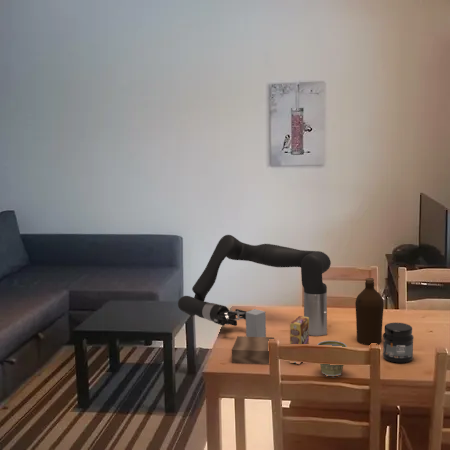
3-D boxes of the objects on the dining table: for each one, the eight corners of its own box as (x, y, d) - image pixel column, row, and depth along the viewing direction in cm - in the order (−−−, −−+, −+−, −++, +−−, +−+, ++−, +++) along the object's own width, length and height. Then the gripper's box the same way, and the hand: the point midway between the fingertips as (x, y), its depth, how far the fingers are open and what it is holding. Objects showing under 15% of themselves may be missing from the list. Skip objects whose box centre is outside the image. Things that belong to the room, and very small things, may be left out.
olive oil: (377, 347, 231) (378, 283, 227) (351, 342, 237) (351, 280, 232) (386, 338, 240) (387, 277, 235) (360, 334, 245) (361, 274, 241)
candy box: (300, 365, 216) (300, 324, 214) (289, 363, 218) (288, 322, 216) (309, 356, 224) (309, 316, 221) (298, 355, 226) (298, 315, 223)
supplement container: (396, 350, 227) (397, 320, 225) (419, 359, 218) (420, 327, 216) (376, 357, 222) (376, 325, 220) (399, 366, 213) (399, 333, 211)
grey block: (255, 337, 246) (255, 308, 244) (265, 340, 242) (265, 311, 240) (246, 341, 242) (245, 312, 240) (256, 344, 238) (256, 315, 236)
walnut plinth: (274, 350, 232) (274, 337, 231) (270, 364, 218) (270, 351, 217) (237, 348, 234) (237, 336, 233) (232, 362, 220) (231, 349, 220)
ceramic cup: (314, 377, 206) (314, 349, 204) (320, 366, 215) (320, 339, 213) (353, 382, 201) (353, 353, 200) (357, 370, 211) (357, 342, 209)
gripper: (202, 308, 251) (231, 316, 240) (227, 300, 261) (255, 307, 249) (203, 325, 252) (231, 334, 241) (227, 317, 262) (255, 325, 251)
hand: (243, 320), depth 245 cm, fingers open, 8 cm apart
